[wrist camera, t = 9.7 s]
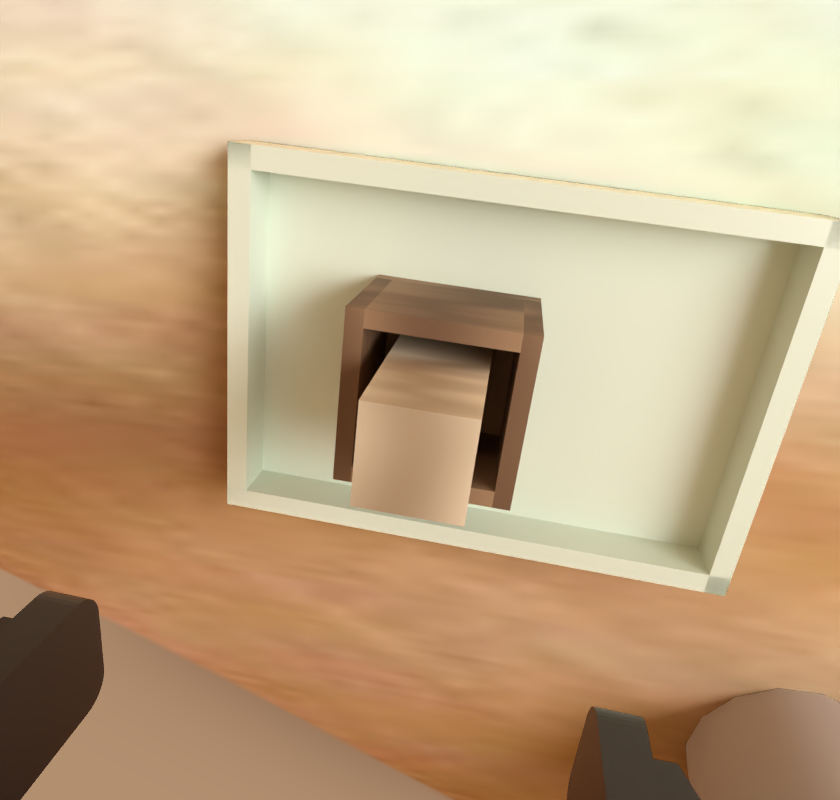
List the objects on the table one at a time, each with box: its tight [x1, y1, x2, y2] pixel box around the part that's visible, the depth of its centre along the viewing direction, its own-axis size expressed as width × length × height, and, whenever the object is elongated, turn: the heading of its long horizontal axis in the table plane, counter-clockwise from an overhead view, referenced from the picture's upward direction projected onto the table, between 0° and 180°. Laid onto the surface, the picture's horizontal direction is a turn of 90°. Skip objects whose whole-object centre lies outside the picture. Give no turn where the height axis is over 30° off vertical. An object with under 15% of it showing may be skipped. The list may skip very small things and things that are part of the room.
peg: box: [350, 334, 493, 527], centre depth 21 cm, size 3×3×8 cm
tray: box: [227, 141, 840, 596], centre depth 25 cm, size 20×14×2 cm
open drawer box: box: [333, 274, 544, 511], centre depth 23 cm, size 6×6×5 cm
